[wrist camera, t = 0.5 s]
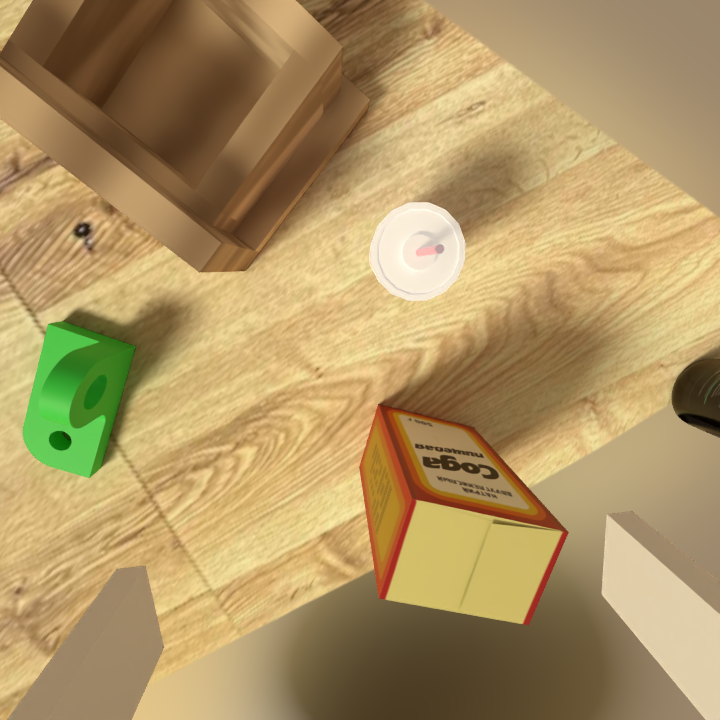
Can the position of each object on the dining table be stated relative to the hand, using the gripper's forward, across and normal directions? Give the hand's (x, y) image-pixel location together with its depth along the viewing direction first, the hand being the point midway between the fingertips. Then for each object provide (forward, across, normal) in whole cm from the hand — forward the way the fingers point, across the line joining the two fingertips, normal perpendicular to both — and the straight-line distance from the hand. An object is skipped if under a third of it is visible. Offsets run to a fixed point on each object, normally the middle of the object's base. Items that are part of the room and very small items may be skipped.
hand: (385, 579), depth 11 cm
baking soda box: (+26, +6, -8) cm, 27 cm away
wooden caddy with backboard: (+25, -9, +21) cm, 34 cm away
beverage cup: (+25, +5, +9) cm, 27 cm away
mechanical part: (+25, -23, 0) cm, 34 cm away
